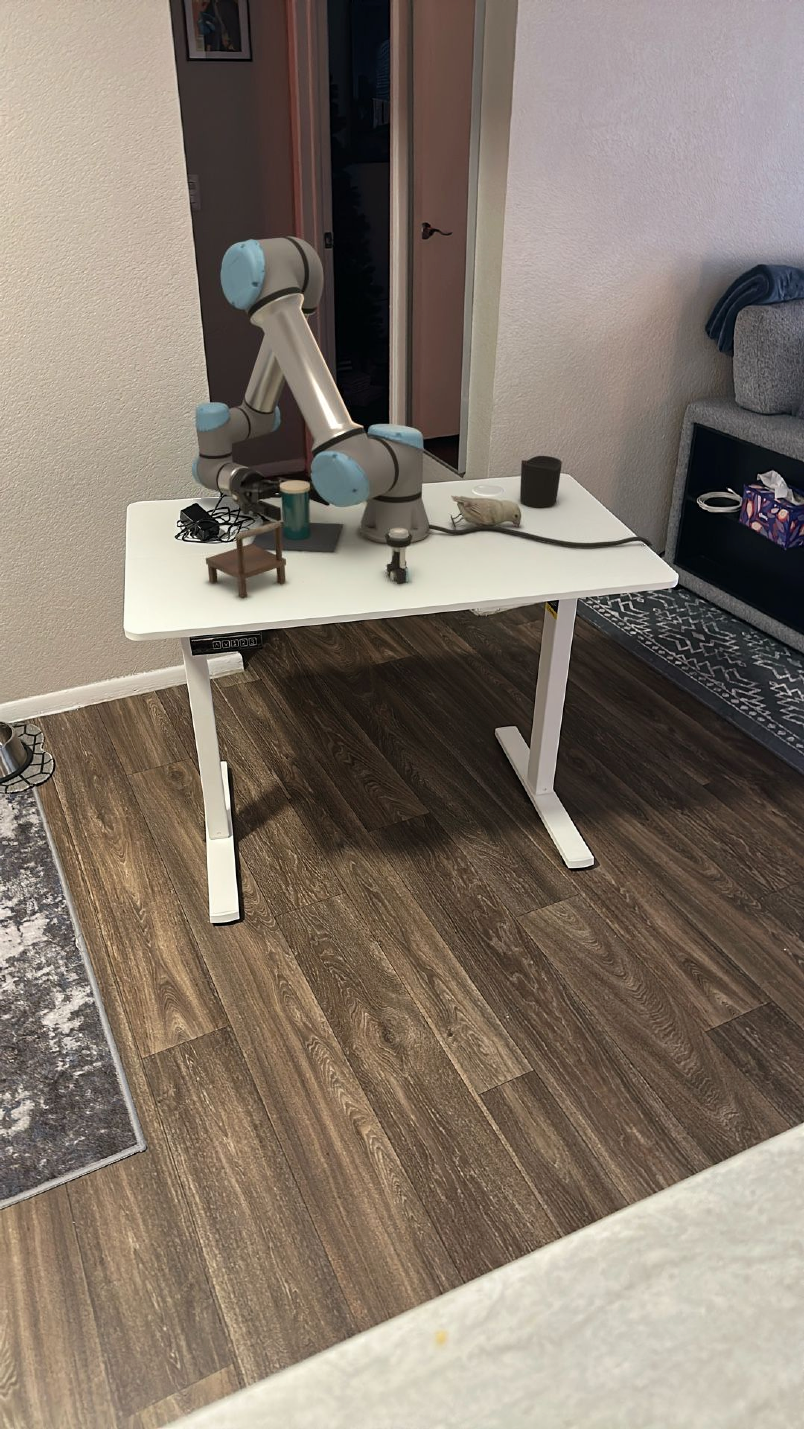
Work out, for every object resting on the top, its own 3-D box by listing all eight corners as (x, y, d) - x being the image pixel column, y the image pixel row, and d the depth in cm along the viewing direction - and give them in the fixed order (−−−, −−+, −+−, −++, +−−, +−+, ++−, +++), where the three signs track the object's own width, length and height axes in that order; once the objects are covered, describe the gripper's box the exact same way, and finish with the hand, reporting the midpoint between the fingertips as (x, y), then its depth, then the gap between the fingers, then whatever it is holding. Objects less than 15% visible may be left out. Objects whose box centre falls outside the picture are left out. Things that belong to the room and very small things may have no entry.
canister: (313, 530, 210) (311, 480, 204) (309, 541, 205) (307, 490, 199) (285, 529, 211) (282, 479, 205) (280, 540, 205) (277, 489, 199)
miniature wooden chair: (207, 582, 187) (201, 520, 180) (252, 566, 193) (248, 507, 187) (242, 599, 180) (237, 536, 174) (287, 582, 187) (283, 521, 180)
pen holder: (559, 509, 225) (564, 467, 220) (520, 508, 225) (523, 467, 220) (554, 496, 233) (559, 455, 228) (516, 495, 233) (519, 455, 228)
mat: (342, 525, 214) (342, 523, 214) (334, 552, 201) (333, 550, 200) (263, 522, 215) (263, 521, 215) (249, 549, 201) (249, 547, 201)
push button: (376, 574, 191) (376, 527, 186) (398, 569, 193) (399, 522, 188) (394, 586, 186) (394, 538, 181) (416, 580, 189) (417, 532, 183)
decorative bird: (522, 531, 213) (524, 498, 209) (450, 532, 212) (452, 500, 208) (517, 522, 217) (520, 490, 213) (448, 523, 216) (449, 491, 212)
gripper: (286, 487, 224) (347, 510, 212) (198, 513, 209) (259, 538, 197) (285, 456, 220) (347, 477, 208) (195, 479, 205) (256, 503, 193)
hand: (304, 506), depth 202 cm, fingers open, 13 cm apart
